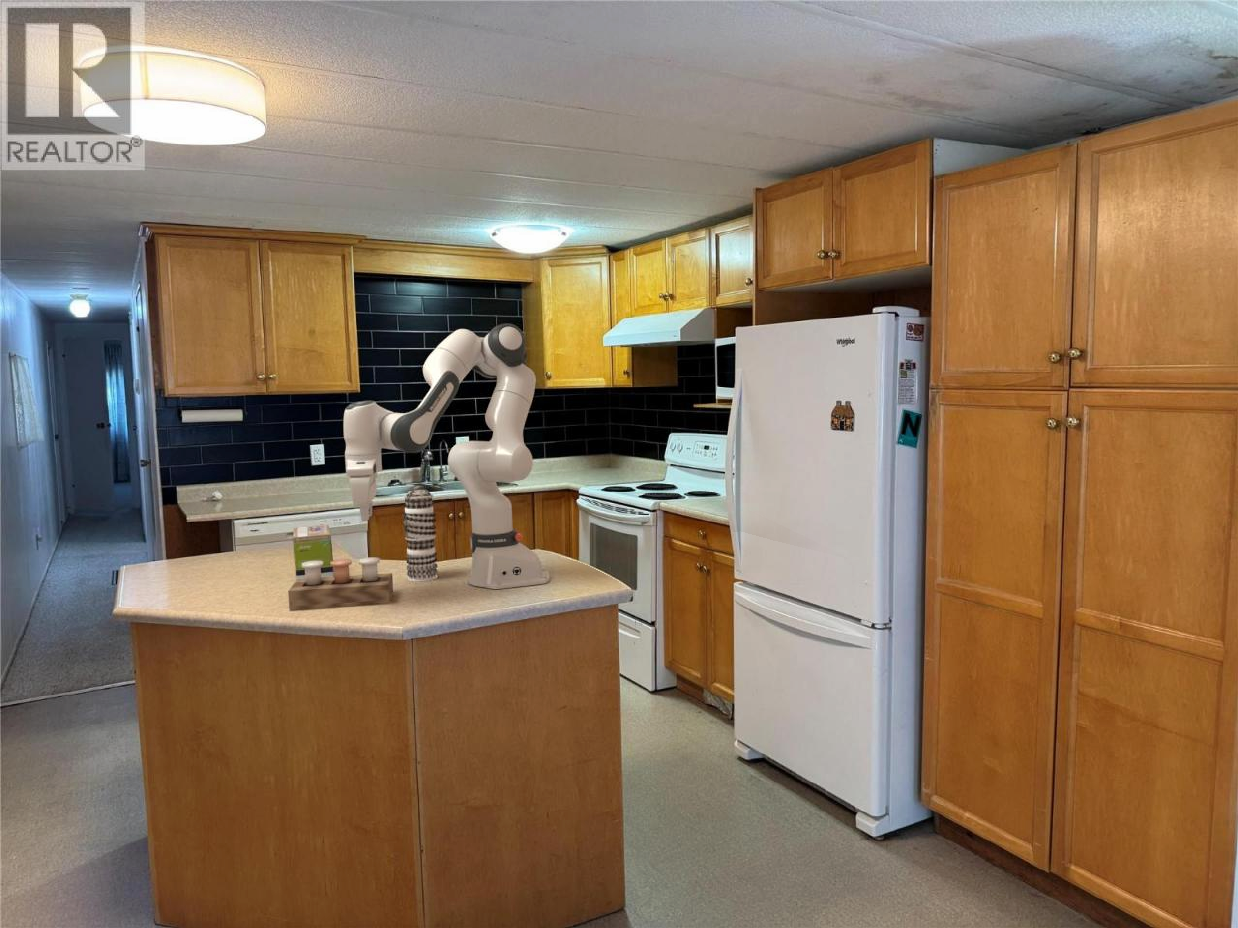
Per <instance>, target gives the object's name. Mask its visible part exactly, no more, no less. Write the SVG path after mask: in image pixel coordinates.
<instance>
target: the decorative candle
mask: <svg viewBox="0 0 1238 928" xmlns="http://www.w3.org/2000/svg"><path fill="white" fill-rule="evenodd" d="M433 497H434V495H433V494H431V492H430V491H429V490H428V489H415V490H410V491H408V492H407V493H406V495H405V496H404V497H403V498H404V504H405V506H404V511H403V514H402V518H403V519H404V521H403V525H404V527H403V530H404V532H405V534H404V537H405V540H406V543H407V544H406V545H407V548H406V555H405V558H406V564H407V566H406V570H407V572H406V575H407V581H409V582H413V583H414V582H415V583H416V582H417V583H419V582H428V581H433V580H436V579H438V574H437V573H438V571H439V570H438V569H437V568H438V563H436V562H437V561H438V558H437V555H438V553H437V552H436V545H435V538H436V537H437V535H436V534H437V532H436V528H437V526H436V525H434V523H435V522H437V519H435V518H436V516H437V514H436V513H435V512H434V505H433V503H434V502H433Z"/></svg>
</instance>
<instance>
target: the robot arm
mask: <svg viewBox="0 0 1238 928" xmlns="http://www.w3.org/2000/svg"><path fill="white" fill-rule="evenodd" d="M526 347H527V345H526V337H525V335H524V332H523V330H521V328H520V327H518V326H517V325H515V324H513V323H509V322H508V323H506V322H505V323H501V324H499V325H495V326H494V327H493V328H492V329H491V330H490V332H489V333H487V334H486V335H485V336H484V337H481V336H479V335H476V333H475V332H473V331H471V330H470V329H466V328H459V329H456V330H455V331H453V332H452V333H450V334H449V335H448V336H447V337H446V338H444V339H443V340H442V341H441V342H440V343H439V344H438V345H437V346H436V348H435V349H434V350H433V351H432V352H431V353H430V354H429V355H428V357H427V358H426V360H425V361H424V364H423V366H422V373H423V374H422V375H423V377H424V380H425V382H426V383H427V384H428V385H429V386H430V389H429V390H428V392H427V393H426V395H425V396H424V397H423V399H422V401H421V402H420V404H418V405H417V407H416V408H415V409H414V410H411V411H409V412H405V413H403V412H401V413H400V412H394V411H391V410H388V409H386V408H384V407H382V406H380V405H378V404H377V403H376V401H374V400H364V401H363V400H362V401H355V402H353V403H351V404H348V406H346V408H345V410H344V413H343V438H344V441H345V451H344V458H345V459H344V461H345V472H346V476H347V477H349V485H350V493H351V499H352V504H353V505H354V507H358V509H359V512H360V520H361V522H368V521H369V520H370V517H372V515H373V500H374V498H375V497H376V496H377V493H378V492H377V491H378V488H377V478H378V473H379V472H382V471H383V465H382V463H383V462H382V449H386V450H387V449H388V450H393V451H401V452H405V453H409V454H417V453H420V452H421V451H423V450H425V449H426V448H427V447H428V445H429V443H430V442H431V439H432V437H433V434H434V431H435V428H436V426H437V424H438V423H439V421H440V419H441V418H442V416H443V415H444V413H445V412H446V410H447V409H448V408H449V406H450V404H451V402H453V400H454V398H455V396H456V395H457V393H458V391H459V388H460V384H461V383H462V382H463V380H464V378H466V376H467V375H468V374H469V373H470V371H473V372H474V371H475V372H476V373H477V374H478V375H480V376H482V377H484V378H486V379H495V378H496V386H495V387H494V390H493V393H492V396H491V398H490V400H489V401H490V402H489V404H488V407H487V409H486V412H485V414H484V418H485V424H486V425H487V426H488V428H489V429H490V430H491V431H492V432H493V433H492V437H491V439H490V440H489V441H488V440H487V441H486V440H468V441H463V442H459V443H456V444H455V445H453V447H451V449H450V451H449V453H448V457H447V464H448V469H449V471H450V472H451V474H453V476H454V477H456V478H457V480H458V481H459V482H460V483H461V485H462V487H463V489H464V490H465V493H466V495H467V497H468V501H469V505H470V513H471V514H470V516H471V531H470V549H471V552H472V558H471V566H470V567H471V568H470V572H469V579H468V584H469V585H471V586H474V587H481V588H487V589H490V590H500V589H501V590H502V589H510V588H516V587H527V586H534V585H541V584H548V583H549V581H550V580H551V575H550V573H549V571H547V570H545V569H543V568H542V567H543V566H542V563H541V560H540V557H539V556H538V555H537V553H536V552H534V551H533V550H531V549H529V547H527V546H526V545H524V544H523V543H521V541H522V540H523V535H522V533H520V531H518V530H516V529H513V509H512V508H513V507H512V502H511V500H510V499H509V498H508V497H507V496H506V495H504V494H503V493H502V492H501V490H500V489H499V487H498V484H497V483H515V482H518V481H519V482H520V481H524V480H525V479H527V478H528V476H529V475H530V474H531V471H532V470H533V466H534V465H533V461H534V459H533V456H532V453H531V451H530V449H529V448H528V447H527V446H526V444H525V442H524V441H525V440H524V428H525V424H526V421H527V418H528V416H529V415H528V414H529V412H530V408H531V406H532V402H533V398H534V395H535V389H536V382H537V378H536V375H535V374H536V373H535V372H534V371H533V370H532V369H531V368H530V367H528V366H527V365H525V364H524V363H525V362H526V361H527V359H528V355H527V350H526Z"/></svg>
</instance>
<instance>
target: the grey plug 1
mask: <svg viewBox="0 0 1238 928" xmlns="http://www.w3.org/2000/svg"><path fill="white" fill-rule="evenodd" d="M321 566H323V561H307V562H304V563H302V568H305V580H306V585H317V584H320V583H322V582H321Z"/></svg>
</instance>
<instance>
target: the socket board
mask: <svg viewBox="0 0 1238 928" xmlns="http://www.w3.org/2000/svg"><path fill="white" fill-rule="evenodd" d="M321 582H322V583H320V584H317V585H306V580H305V579H298V580H297V581H295V582H294V583H293V584H292V585H291V587H290V588H289V590H288V592H287V593H288V605H289V607H288V608H289V611H304V610H305V611H306V610H318V609H320V610H321V609H330V608H331V609H332V608H345V607H347V608H348V607H362V606H374V605H375V606H376V605H389V604H390V603H391V599H392V596H393V593H394V581H393V573H391V572H390V573H378V580H375V581H363V578H362V574H360V575H359V574H357V575H350V581H349V582H346V583H335V582H334V577H323V578H321Z"/></svg>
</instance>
